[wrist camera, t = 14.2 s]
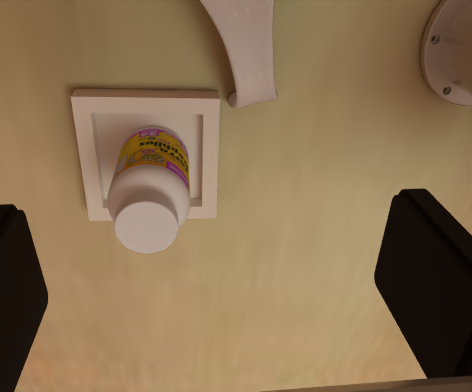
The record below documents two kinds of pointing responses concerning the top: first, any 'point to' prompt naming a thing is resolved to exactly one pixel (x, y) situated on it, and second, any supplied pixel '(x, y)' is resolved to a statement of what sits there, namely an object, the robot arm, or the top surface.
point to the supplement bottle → (150, 190)
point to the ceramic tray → (138, 117)
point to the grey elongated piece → (247, 47)
